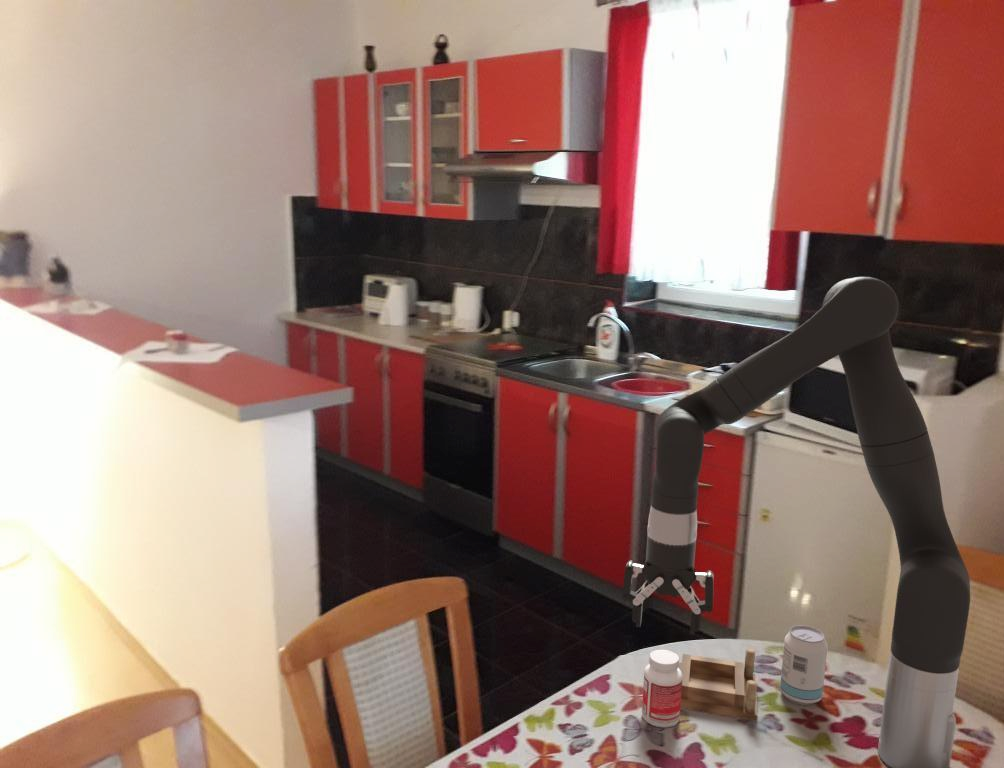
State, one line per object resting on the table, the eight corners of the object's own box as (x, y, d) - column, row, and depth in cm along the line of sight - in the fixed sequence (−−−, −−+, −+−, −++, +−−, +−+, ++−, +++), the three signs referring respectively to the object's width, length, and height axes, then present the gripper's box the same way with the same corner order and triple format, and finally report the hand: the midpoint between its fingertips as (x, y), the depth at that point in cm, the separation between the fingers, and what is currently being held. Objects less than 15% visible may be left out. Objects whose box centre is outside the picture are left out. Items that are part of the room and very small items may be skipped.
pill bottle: (687, 721, 135) (692, 659, 133) (660, 733, 132) (664, 670, 130) (660, 702, 140) (664, 643, 138) (633, 714, 137) (637, 653, 135)
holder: (754, 679, 148) (757, 648, 147) (756, 721, 136) (759, 687, 134) (669, 666, 152) (671, 636, 151) (664, 705, 139) (666, 673, 138)
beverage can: (830, 702, 141) (837, 638, 139) (801, 712, 138) (807, 647, 136) (799, 682, 147) (806, 620, 145) (770, 691, 144) (776, 628, 142)
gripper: (718, 530, 132) (711, 624, 135) (629, 520, 135) (623, 611, 139) (718, 548, 124) (709, 646, 128) (623, 537, 128) (617, 632, 131)
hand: (665, 628), depth 133 cm, fingers open, 8 cm apart
